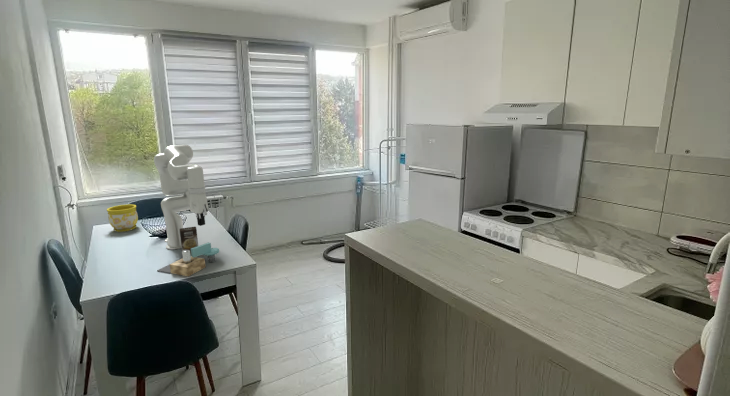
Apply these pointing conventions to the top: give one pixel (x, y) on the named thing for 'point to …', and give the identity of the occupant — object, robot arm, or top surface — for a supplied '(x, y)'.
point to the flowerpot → (123, 217)
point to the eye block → (187, 266)
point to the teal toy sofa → (205, 251)
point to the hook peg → (186, 256)
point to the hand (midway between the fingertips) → (201, 224)
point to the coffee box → (188, 238)
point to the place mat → (165, 269)
